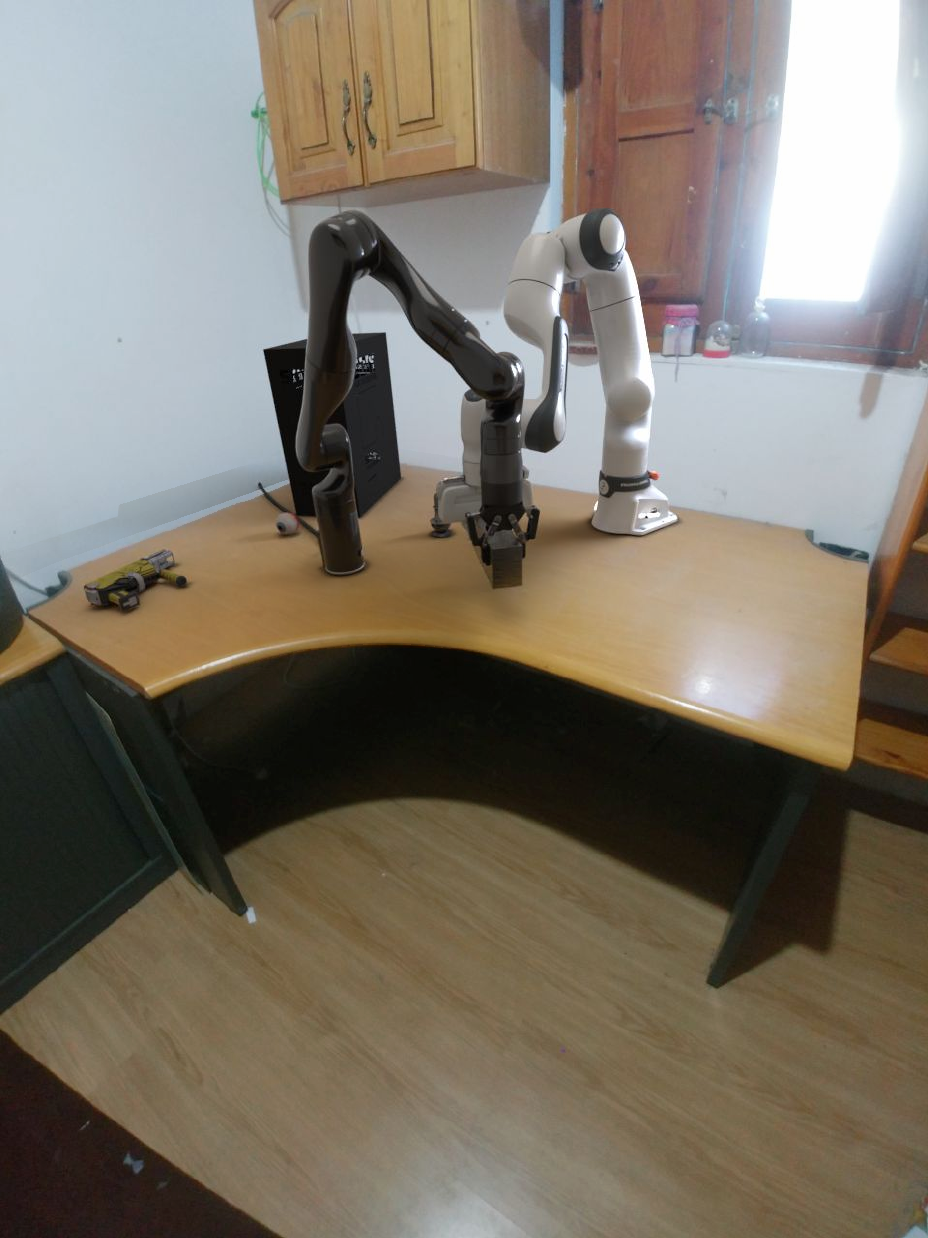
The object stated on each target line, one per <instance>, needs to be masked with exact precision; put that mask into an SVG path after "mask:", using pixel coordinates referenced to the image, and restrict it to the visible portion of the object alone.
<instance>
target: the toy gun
mask: <svg viewBox="0 0 928 1238" xmlns="http://www.w3.org/2000/svg"><path fill="white" fill-rule="evenodd" d="M171 557H172V561H171V560H168V558H171ZM175 563H176V561H175V556H174V552H173V551H172V550H169V549H168V550H167V549H165V548H162V549H161V550H159V551H155V552H154V553H152V554H150V555H148V556H146V557H141V558H140V559H138V560H135V561H133V562H131V563H129V564H127V565H125V566H122V567H120V568H118V569H116V570H114V571H111V572H109V573H107V574H105V575H103V576H101V577H98V578H97V579H94V580H92V581H90V582H88V583H86V584H84V585H83V590H84V593H85V597H86V600H87V602H88V603H89V604H90V606H94V607H98V606H109V605H113V604H116V605H118V606H119V607H120V611H121V612H122V613H123V612H127V611H129V610H131V609H134V608H136V607H138V606H141V605H140V604H141V603H140V599H139V595H138V594H139V593H140V592H142V591H144V590H145V589H146V586H148V585H150V584H152V583H155V582H158V581H159V579H161V580H165V581H166V582H168V583H172V584H173V585H176V586H178V587H179V588H181V587H185V586H186V585H187V583H188V580H187V577H185V575H180V574H179V573H175V572H173V571H170V570H169V569H167V568H169V567H170V566H174V565H175Z"/></svg>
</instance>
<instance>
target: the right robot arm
mask: <svg viewBox="0 0 928 1238" xmlns="http://www.w3.org/2000/svg"><path fill="white" fill-rule="evenodd" d="M625 248H626V230H625V225H624V223H623V221H622V219H621V217H620V216H619V215H618V214H617V212H616V211H615V210H613V209H612V208H610V207H600V208H598V207H597V208H594V209H591V210H589V211H587V212H586V213H583V214H579V215H577V216H574V217H572V218H570V219H568V220H565V221H564V222H563V223H562V224H561V225H558V226H556V227H555V228H553V229H552V230H550V231H547V232H534V233H532V234H530V235H528V236H527V237H526V238H525V239H524V240H523V241H522V243H521V244H520V247H519V249H518V251H517V253H516V256H515V259H514V262H513V264H512V268H511V271H510V275H509V277H508V278H509V279H508V281H507V285H506V291H505V295H504V300H503V308H502V309H503V311H502V312H503V319H504V321H505V323H506V326H507V328H508V329H509V330H510V331H511V332H512V333H513V334H514V335H515V336H516V337H518V338H519V339H520V340H521V341H523V342H525V343H527V344H529V345H531V346H534V347H535V348H537V349H539V350H541V351H542V355H543V362H542V363H543V364H542V365H543V366H542V379H541V393H540V395H539V396H538V397H537V398H535V399H534V398H524V399H523V407H522V414H521V449H525V450H529V451H533V452H538V453H542V454H546V453H549V452H551V451H552V450H554V449H555V448H556V447H558V446H559V445H560V444H561V443H562V442H563V440H564V438H565V435H566V432H567V431H566V429H567V408H566V407H567V405H566V399H567V386H568V385H567V383H568V368H569V352H570V351H569V350H570V349H569V348H570V335H569V327H568V324H567V322H566V320H565V318H563V317H561V315H560V301H561V296H562V290H563V286H564V284H570V283H574V282H577V281H580V280H581V281H582V283H583V285H584V286H585V292H586V300H587V306H588V312H589V316H590V322H591V326H592V332H593V336H594V341H595V347H596V353H597V358H598V367H599V372H600V379H601V383H602V390H603V395H604V402H605V414H604V415H605V416H604V428H603V438H602V439H603V440H602V453H601V468H600V470H599V474H598V492H599V493H598V498H597V502H596V503H595V506H594V514H593V517H592V520H591V525H592V526H593V527H594V528H595V529H597V530H599V531H601V532H605V533H611V534H623V535H625V534H626V535H632V536H633V535H634V536H645V535H646V534H650V533H652V532H654V531H657V530H660V529H662V528H665V527H668V526H670V525H672V524H675V523H677V522H678V516H677V515H676V514H675V513H674V512H672V511H670V503H669V502H670V501H669V498H668V497H667V496H666V495H665V494H664V493H663V492H661V491H660V490H659V489H658V488H656V487H655V486H654V485H652V483H651V480H653V481H658V479H659V478H660V473H659V472H657V471H654V470H651V471H649V470H648V469H647V466H648V458H649V457H648V455H649V446H650V436H651V424H652V411H653V404H654V401H655V397H656V388H655V379H654V376H653V369H652V365H651V358H650V352H649V347H648V346H649V345H648V340H647V335H646V334H647V333H646V328H645V327H646V326H645V322H644V316H643V310H642V305H641V297H640V292H639V287H638V282H637V277H636V274H635V271H634V267H633V264H632V261H631V259H630V256H629V253H628V251H626V249H625ZM485 408H486V400H484V399H483V398H481V397H480V396H478V395H477V394H476V393H475V392H474V391H473V390H472V389H471V388H469V389H468V390H467V391H465V392H464V393H463V395H462V400H461V406H460V437H461V442H462V444H463V451H462V454H461V455H462V456H461V459H462V474H460V475H455V476H451V477H448V476H447V477H446V476H445V477H443V478H442V479H441V480H440V481H438V482H437V484H436V487H435V493H437V497H438V499H439V500H438V516H439V518H440V519H441V520H442V521H443V522H444V523H445V524H450V523H451V524H455V523H460V525H461V526H462V528H463V529H464V531H465V538H466V539H467V540H468V541H469V540H470V536H469V531H468V527H467V523H466V518H465V514H466V513H467V512H470V513H471V514H472V513H475V512H479V510H480V508H481V505H482V502H481V476H480V459H481V437H480V427H481V421H482V419H483V417H484V415H485ZM529 478H530V469H528V468H527V467H526V466H525V465H523V504H524V506H525V507H531V506H532V505H534V492H533V491H534V490H533V485H532V482H531V481H530V480H529ZM470 541H471V540H470Z"/></svg>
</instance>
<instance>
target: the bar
mask: <svg viewBox="0 0 928 1238" xmlns="http://www.w3.org/2000/svg"><path fill="white" fill-rule="evenodd" d="M485 524H486V523H485V522H484V520H483V519H482V518H479V520H478V524H477V525H475V527H476V532H477V536H478V537H479V538H481V536H482V534H483V529H484V526H485ZM471 546H472V549H473V551H474V553H475V555H476V557H477V559H478V561H479V563H480V565H481V568H482V570H483V572H484V573H485V576H486V578H487V580H488V583H489V584H490V586H491V588H492V590H501V589H509V588H516V587H522V586H523V560H522V545H521V543H520V542H519V540H518V539H517V536H516V534H515V532H514V530H513V529H512V530H502V531H500V532H495V534H494V536H493V538H492V539H491V541H490V544H489V546H488V547H489V555H490V565H489V566H486V565H485V563H483V561H482V559H481V548H480V546H473V544H472V543H471Z"/></svg>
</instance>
